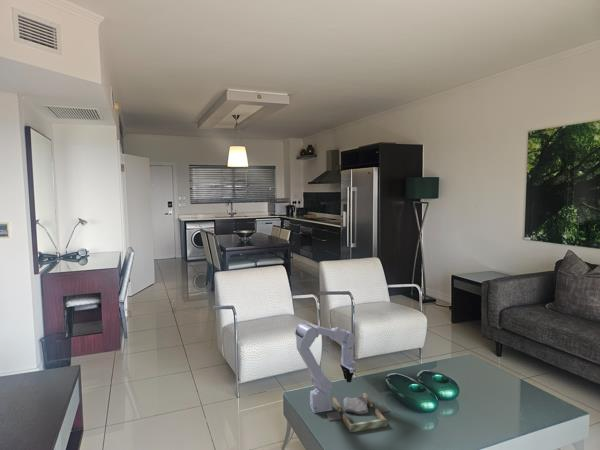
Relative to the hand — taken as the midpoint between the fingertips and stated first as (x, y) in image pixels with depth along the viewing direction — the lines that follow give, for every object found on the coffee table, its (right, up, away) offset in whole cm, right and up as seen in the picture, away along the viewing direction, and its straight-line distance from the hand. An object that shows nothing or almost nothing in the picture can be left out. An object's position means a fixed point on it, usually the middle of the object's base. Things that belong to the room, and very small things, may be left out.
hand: (347, 380), depth 200 cm
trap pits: (+3, -11, -13) cm, 17 cm away
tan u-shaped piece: (+3, -11, -13) cm, 17 cm away
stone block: (+3, -11, -9) cm, 14 cm away
